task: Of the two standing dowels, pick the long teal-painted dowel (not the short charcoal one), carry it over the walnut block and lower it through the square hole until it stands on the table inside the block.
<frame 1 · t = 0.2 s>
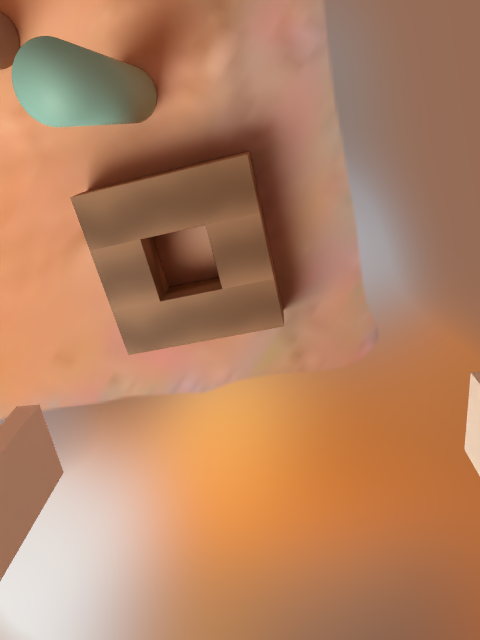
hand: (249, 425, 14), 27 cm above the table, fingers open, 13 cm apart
hole block: (189, 252, 40), on the table
long dowel: (131, 95, 35), on the table
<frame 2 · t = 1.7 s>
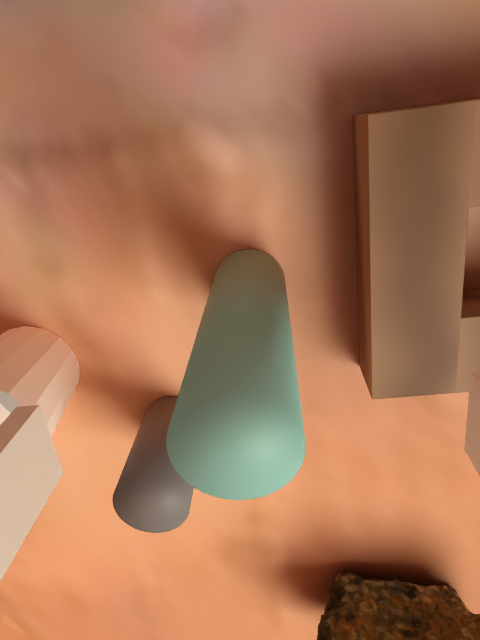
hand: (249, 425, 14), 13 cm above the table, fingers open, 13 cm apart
shot glass: (37, 364, 29), on the table
rock: (390, 593, 36), on the table
short dowel: (174, 421, 30), on the table
long dowel: (249, 283, 26), on the table
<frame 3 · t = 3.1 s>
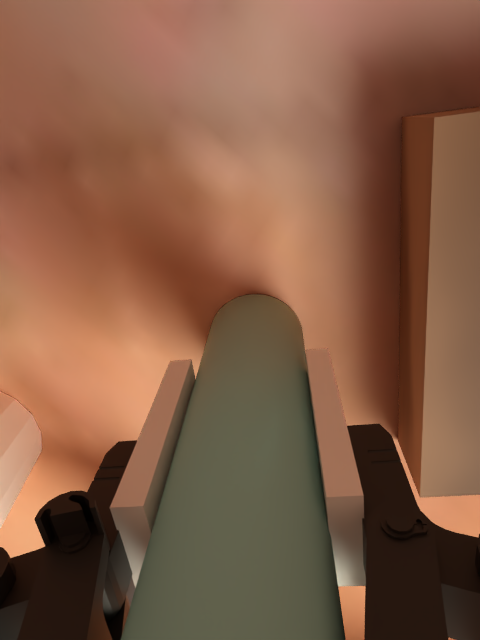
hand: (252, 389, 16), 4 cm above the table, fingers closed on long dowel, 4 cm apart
long dowel: (256, 337, 20), on the table, touching gripper
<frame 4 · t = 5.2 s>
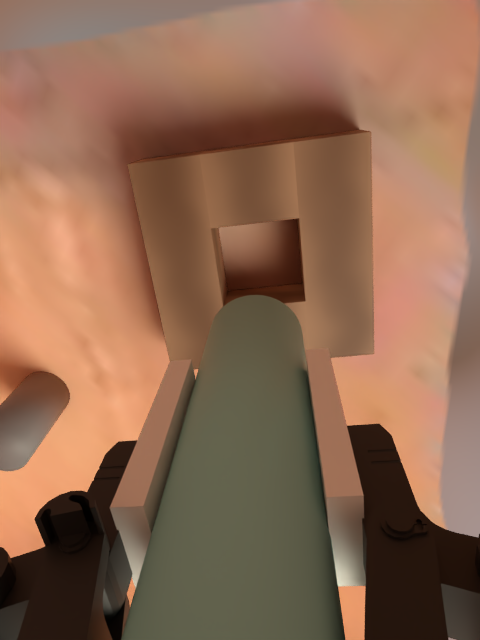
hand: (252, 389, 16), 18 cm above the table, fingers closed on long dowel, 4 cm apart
hole block: (260, 250, 32), on the table
short dowel: (45, 392, 38), on the table
long dowel: (255, 338, 20), point 14 cm above the table, touching gripper
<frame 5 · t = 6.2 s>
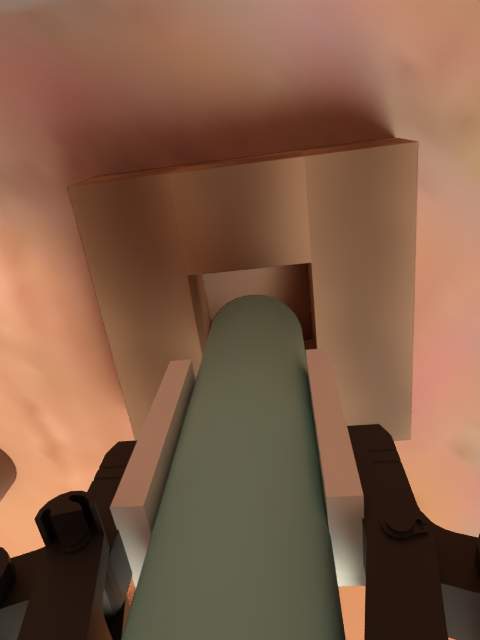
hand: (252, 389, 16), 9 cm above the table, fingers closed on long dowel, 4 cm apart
hole block: (257, 297, 24), on the table
long dowel: (256, 338, 20), point 5 cm above the table, touching gripper
when the fingers open (5 cm above the table, at t = 7.2 s): long dowel stays where it is, resting in hole block.
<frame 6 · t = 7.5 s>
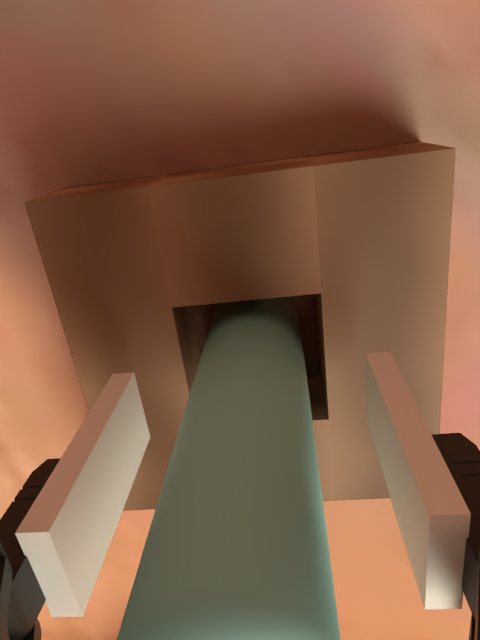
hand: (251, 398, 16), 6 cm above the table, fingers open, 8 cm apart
hole block: (256, 327, 21), on the table
long dowel: (255, 327, 21), resting in hole block
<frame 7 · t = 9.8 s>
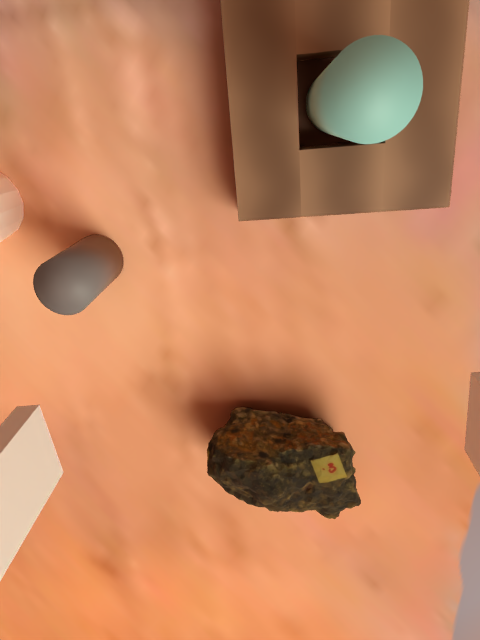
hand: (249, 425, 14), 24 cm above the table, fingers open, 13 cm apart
hole block: (335, 101, 32), on the table
rock: (281, 433, 43), on the table
short dowel: (99, 258, 38), on the table
long dowel: (335, 102, 32), resting in hole block
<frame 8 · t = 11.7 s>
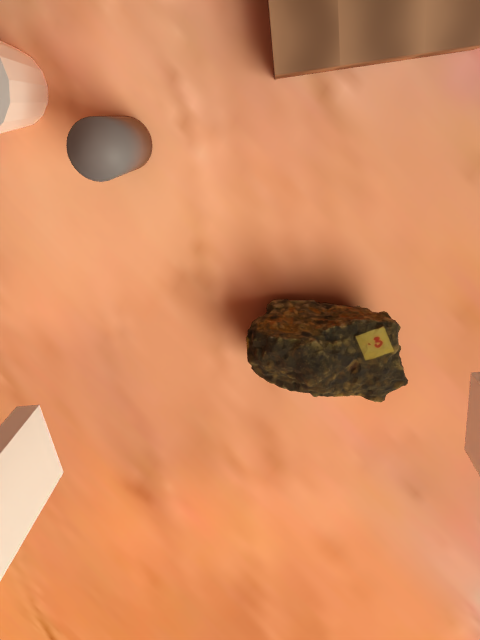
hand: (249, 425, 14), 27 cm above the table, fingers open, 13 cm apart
shot glass: (13, 88, 36), on the table
rock: (318, 330, 42), on the table
short dowel: (127, 143, 36), on the table
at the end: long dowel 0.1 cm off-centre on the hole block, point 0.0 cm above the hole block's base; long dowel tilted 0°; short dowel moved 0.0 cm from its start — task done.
